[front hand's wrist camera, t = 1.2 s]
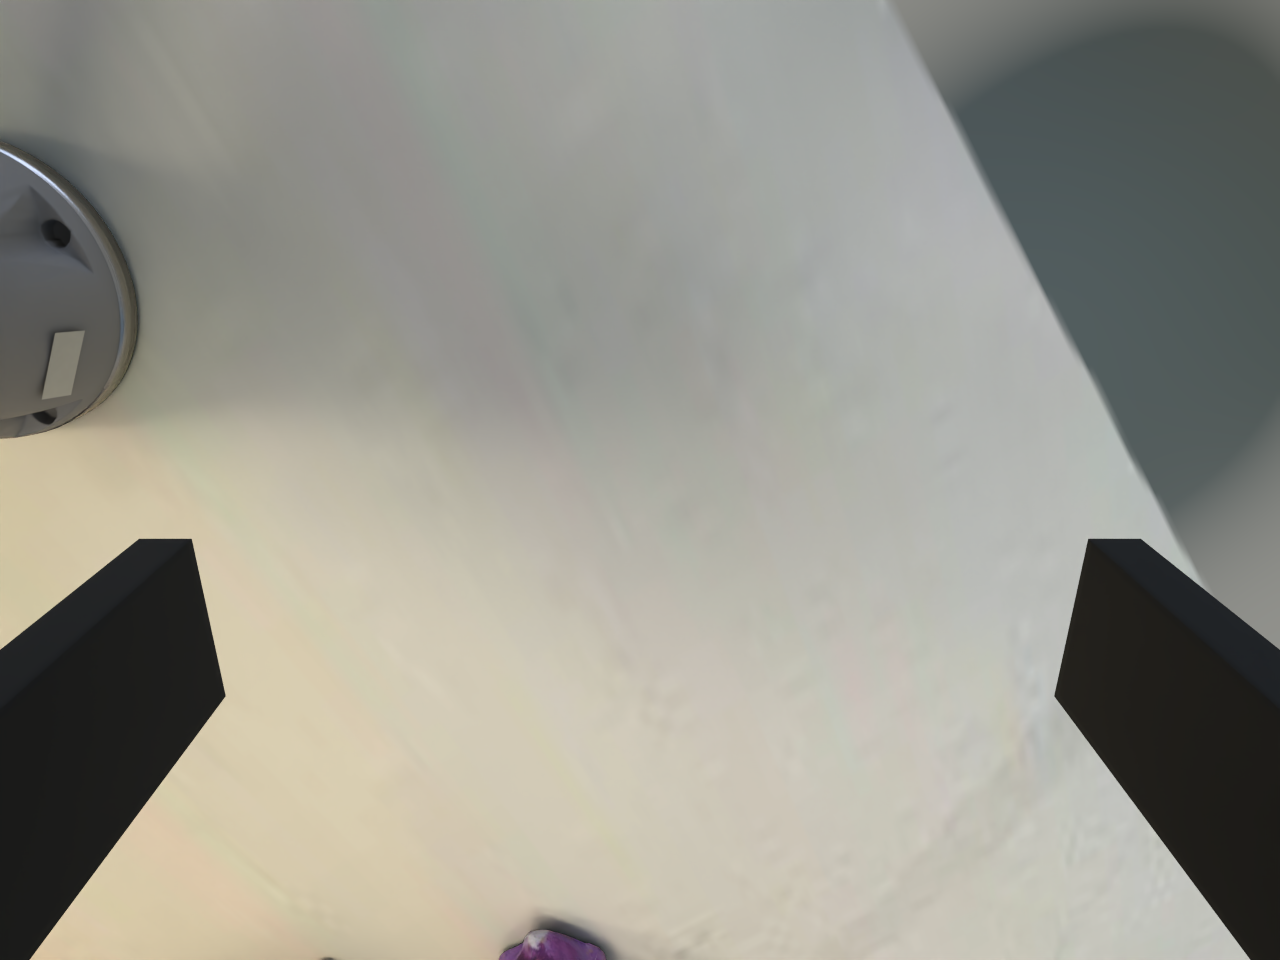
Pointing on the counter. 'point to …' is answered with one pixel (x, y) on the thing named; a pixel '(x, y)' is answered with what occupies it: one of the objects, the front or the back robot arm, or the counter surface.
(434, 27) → the counter surface
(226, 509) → the counter surface
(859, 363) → the counter surface
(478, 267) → the counter surface
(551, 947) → the figurine
